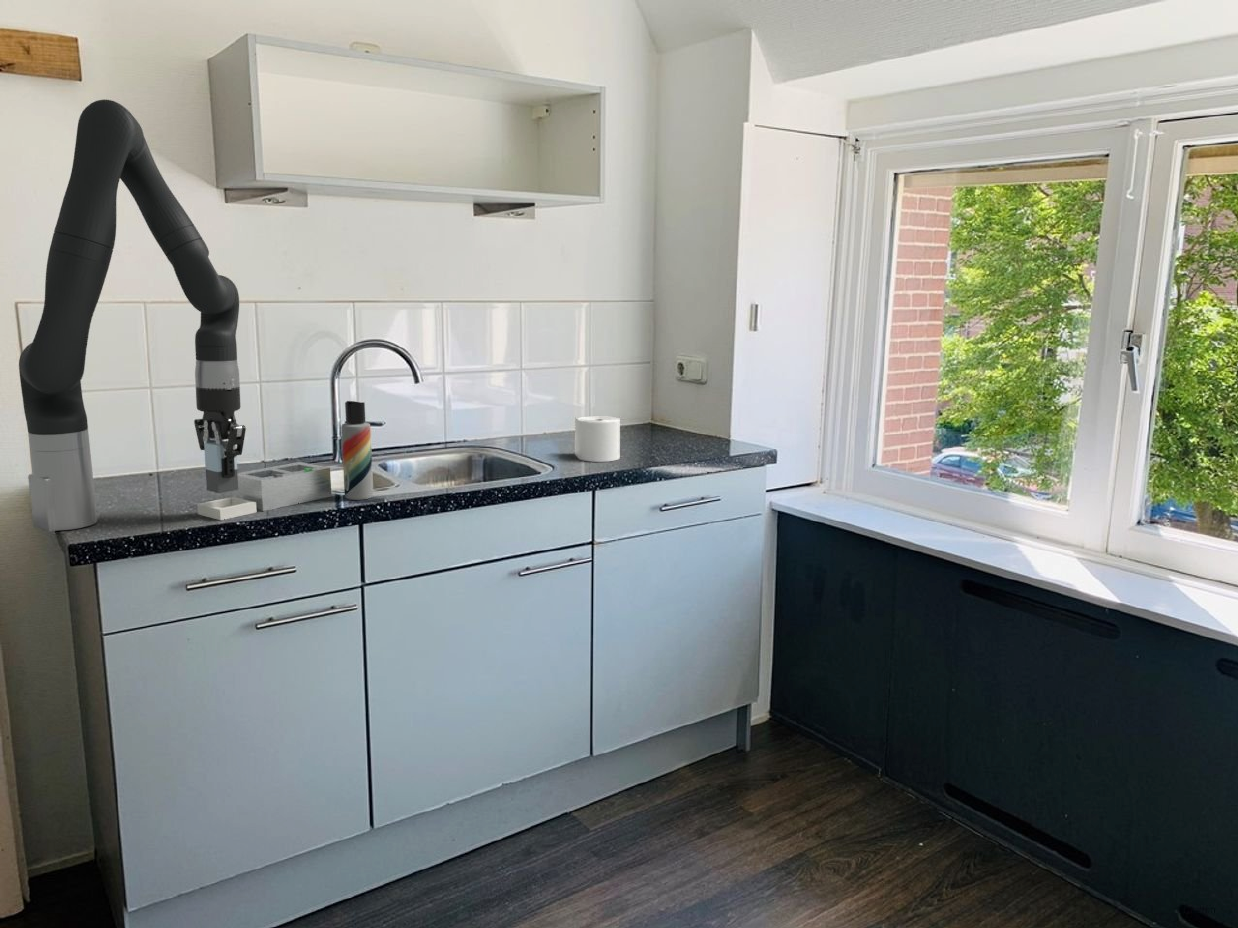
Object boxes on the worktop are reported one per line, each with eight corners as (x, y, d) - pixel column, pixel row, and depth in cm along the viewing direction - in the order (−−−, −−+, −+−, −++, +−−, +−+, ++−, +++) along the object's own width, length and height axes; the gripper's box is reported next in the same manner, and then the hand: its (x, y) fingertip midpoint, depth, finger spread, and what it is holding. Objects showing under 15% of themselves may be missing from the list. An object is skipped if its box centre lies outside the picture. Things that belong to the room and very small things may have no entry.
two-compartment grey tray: (263, 511, 182) (261, 478, 181) (232, 503, 188) (230, 472, 186) (331, 496, 195) (329, 465, 194) (301, 489, 201) (299, 460, 199)
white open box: (220, 520, 175) (219, 509, 175) (197, 514, 179) (197, 504, 179) (256, 512, 181) (255, 502, 181) (233, 506, 185) (233, 496, 185)
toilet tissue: (617, 463, 232) (617, 422, 231) (568, 461, 234) (568, 421, 232) (622, 455, 243) (622, 416, 241) (576, 453, 244) (576, 415, 242)
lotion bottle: (338, 497, 194) (333, 400, 190) (359, 492, 198) (355, 397, 194) (358, 501, 191) (354, 403, 187) (379, 496, 195) (375, 399, 191)
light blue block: (218, 493, 176) (215, 445, 174) (206, 490, 178) (204, 442, 176) (238, 489, 179) (235, 442, 177) (226, 486, 181) (224, 440, 180)
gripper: (177, 382, 176) (182, 473, 179) (220, 389, 168) (224, 484, 171) (215, 380, 182) (219, 468, 185) (258, 386, 174) (261, 478, 177)
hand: (221, 475), depth 178 cm, fingers closed on light blue block, 4 cm apart
